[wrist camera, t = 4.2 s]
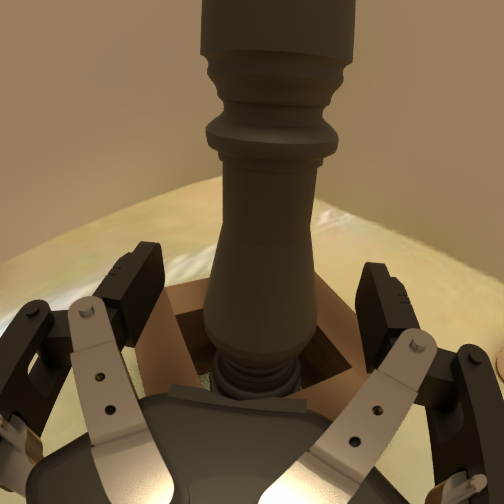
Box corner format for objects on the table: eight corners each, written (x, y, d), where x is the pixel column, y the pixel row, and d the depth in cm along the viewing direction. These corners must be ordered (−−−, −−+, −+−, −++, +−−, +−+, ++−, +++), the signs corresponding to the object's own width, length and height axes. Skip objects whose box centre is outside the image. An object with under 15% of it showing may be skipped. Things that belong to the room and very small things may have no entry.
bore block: (195, 515, 14) (176, 491, 10) (143, 359, 25) (124, 295, 21) (380, 434, 19) (419, 381, 15) (290, 318, 30) (300, 256, 26)
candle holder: (233, 360, 25) (239, 2, 12) (305, 385, 23) (368, 6, 10) (196, 418, 21) (159, -25, 7) (277, 450, 19) (352, -43, 5)
